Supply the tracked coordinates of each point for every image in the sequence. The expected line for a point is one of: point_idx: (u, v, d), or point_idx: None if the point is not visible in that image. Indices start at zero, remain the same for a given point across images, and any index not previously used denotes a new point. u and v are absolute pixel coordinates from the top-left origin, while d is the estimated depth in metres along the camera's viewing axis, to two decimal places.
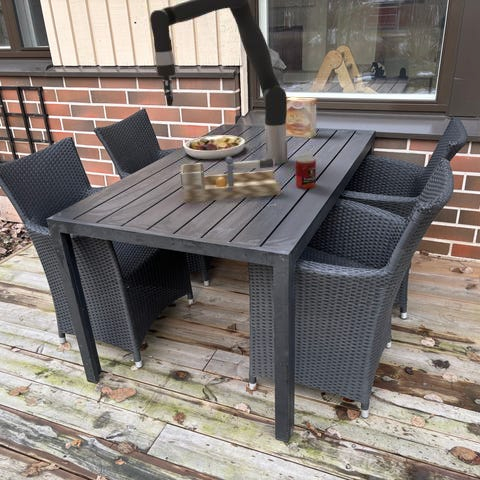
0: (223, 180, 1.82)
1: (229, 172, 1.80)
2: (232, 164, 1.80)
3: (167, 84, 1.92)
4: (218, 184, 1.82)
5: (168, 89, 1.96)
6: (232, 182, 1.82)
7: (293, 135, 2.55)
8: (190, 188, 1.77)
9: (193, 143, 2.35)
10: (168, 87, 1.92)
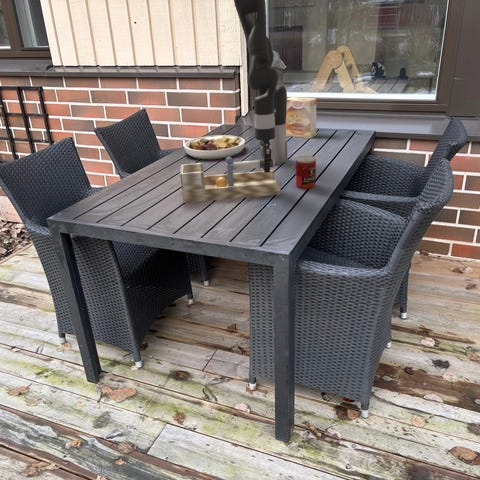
0: (223, 180, 1.82)
1: (229, 172, 1.80)
2: (232, 164, 1.80)
3: (268, 153, 1.74)
4: (218, 184, 1.82)
5: None
6: (232, 182, 1.82)
7: (293, 135, 2.55)
8: (190, 188, 1.77)
9: (193, 143, 2.35)
10: (269, 156, 1.75)
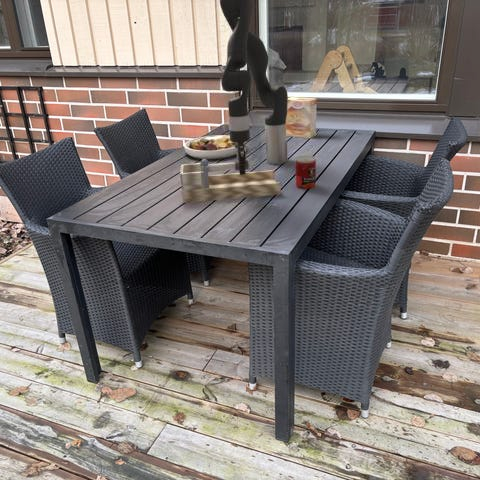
0: None
1: (204, 174, 1.79)
2: (207, 166, 1.79)
3: (243, 155, 1.73)
4: None
5: None
6: (207, 184, 1.81)
7: (293, 135, 2.55)
8: (190, 188, 1.77)
9: (193, 143, 2.35)
10: (244, 158, 1.74)
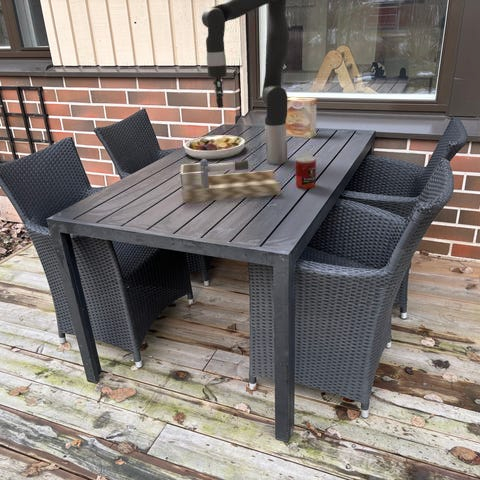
0: None
1: (204, 174, 1.79)
2: (207, 166, 1.79)
3: (219, 85, 1.86)
4: None
5: (219, 90, 1.90)
6: (207, 184, 1.81)
7: (293, 135, 2.55)
8: (190, 188, 1.77)
9: (193, 143, 2.35)
10: (220, 88, 1.87)
